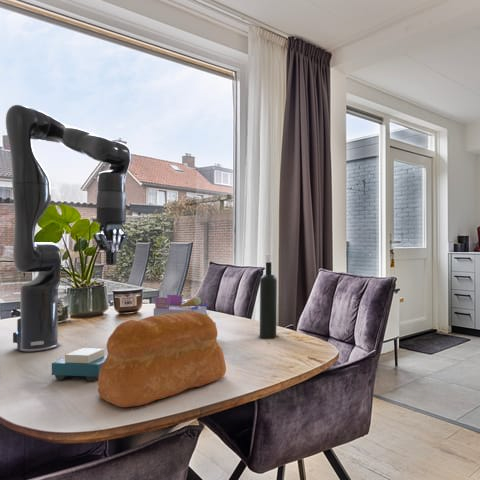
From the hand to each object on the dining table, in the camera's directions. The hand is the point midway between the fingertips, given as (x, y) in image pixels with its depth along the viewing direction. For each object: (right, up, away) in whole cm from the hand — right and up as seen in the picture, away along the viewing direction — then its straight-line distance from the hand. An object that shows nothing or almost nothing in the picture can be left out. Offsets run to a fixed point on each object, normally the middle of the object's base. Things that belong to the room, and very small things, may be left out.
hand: (111, 264), depth 123 cm
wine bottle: (+42, -27, +23) cm, 55 cm away
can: (+9, -27, +27) cm, 39 cm away
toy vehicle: (+15, -27, +18) cm, 35 cm away
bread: (+28, -28, -25) cm, 47 cm away
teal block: (+5, -24, -15) cm, 29 cm away
